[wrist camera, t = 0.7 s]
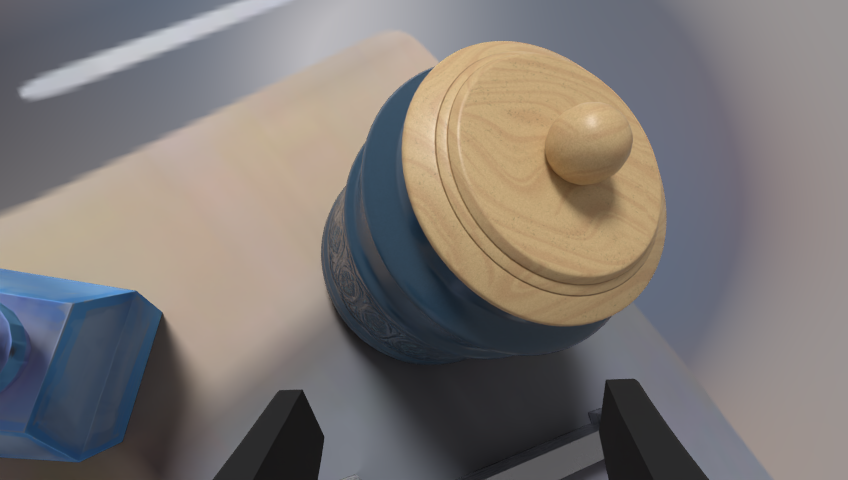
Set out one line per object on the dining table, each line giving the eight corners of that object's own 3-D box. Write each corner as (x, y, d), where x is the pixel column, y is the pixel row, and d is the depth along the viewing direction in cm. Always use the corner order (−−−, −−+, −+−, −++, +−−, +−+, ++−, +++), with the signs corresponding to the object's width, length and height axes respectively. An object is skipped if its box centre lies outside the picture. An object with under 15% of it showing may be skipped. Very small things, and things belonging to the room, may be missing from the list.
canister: (271, 286, 26) (309, 134, 10) (389, 134, 31) (532, -116, 16) (452, 407, 28) (728, 441, 12) (533, 243, 33) (796, 117, 17)
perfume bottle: (20, 290, 22) (-202, 201, 11) (162, 312, 24) (91, 254, 13) (-39, 429, 20) (-382, 485, 9) (122, 441, 21) (-2, 500, 11)
